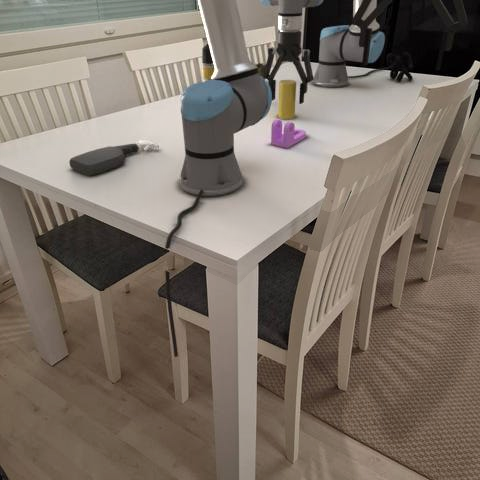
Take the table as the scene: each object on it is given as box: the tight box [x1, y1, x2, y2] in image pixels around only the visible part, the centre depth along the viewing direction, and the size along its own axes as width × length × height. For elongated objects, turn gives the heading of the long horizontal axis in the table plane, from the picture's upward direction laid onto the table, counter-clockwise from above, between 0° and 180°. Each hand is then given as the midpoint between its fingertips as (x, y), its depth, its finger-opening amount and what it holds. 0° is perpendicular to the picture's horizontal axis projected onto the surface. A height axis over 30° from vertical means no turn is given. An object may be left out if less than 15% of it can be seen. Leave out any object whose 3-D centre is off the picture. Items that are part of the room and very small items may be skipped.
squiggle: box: [385, 51, 414, 83], centre depth 198 cm, size 11×10×15 cm
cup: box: [254, 62, 267, 81], centre depth 198 cm, size 8×7×8 cm
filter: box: [201, 40, 215, 81], centre depth 171 cm, size 6×6×30 cm
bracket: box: [270, 119, 307, 149], centre depth 134 cm, size 13×6×7 cm, turn 143°
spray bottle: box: [68, 139, 160, 177], centre depth 124 cm, size 3×11×24 cm
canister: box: [277, 79, 297, 120], centre depth 153 cm, size 6×6×12 cm
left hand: (400, 67), depth 86 cm, fingers open, 13 cm apart
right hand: (286, 101), depth 154 cm, fingers open, 10 cm apart
